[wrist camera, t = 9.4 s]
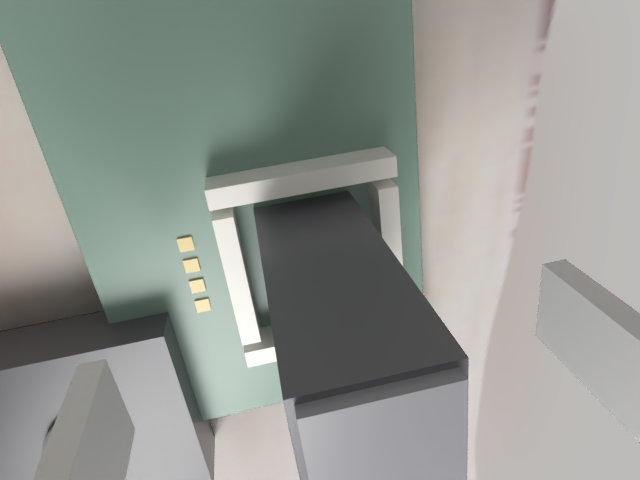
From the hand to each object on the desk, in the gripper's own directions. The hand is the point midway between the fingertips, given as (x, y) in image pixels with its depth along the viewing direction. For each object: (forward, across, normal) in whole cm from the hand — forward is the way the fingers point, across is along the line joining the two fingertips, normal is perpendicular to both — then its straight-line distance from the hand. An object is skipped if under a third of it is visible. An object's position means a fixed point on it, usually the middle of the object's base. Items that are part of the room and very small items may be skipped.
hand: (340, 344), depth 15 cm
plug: (+7, 0, 0) cm, 7 cm away
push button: (+8, -11, -6) cm, 15 cm away
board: (+8, -2, +2) cm, 9 cm away
